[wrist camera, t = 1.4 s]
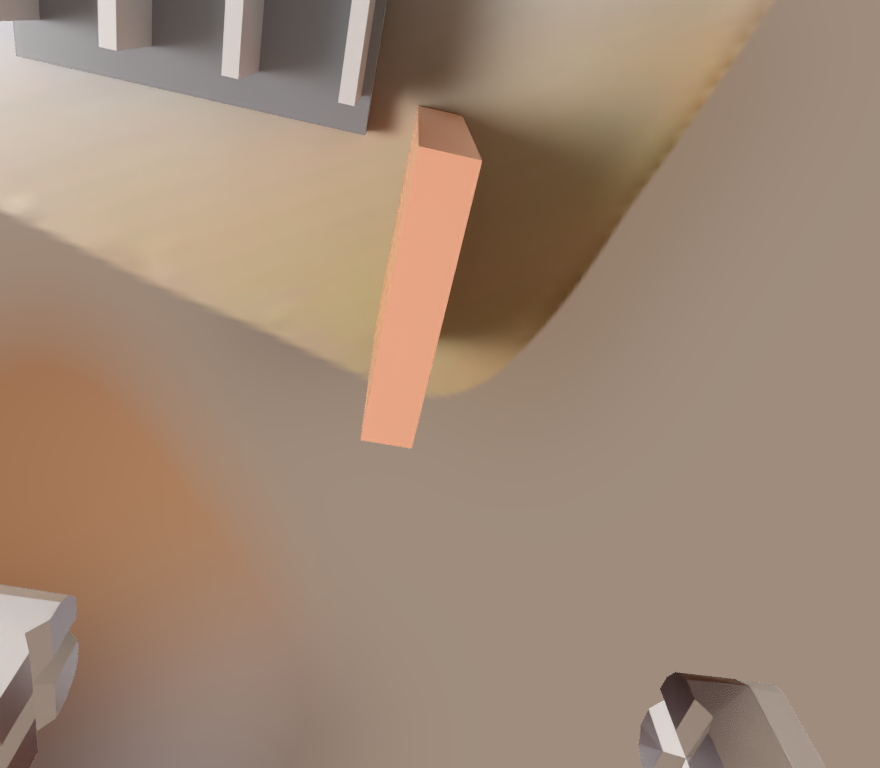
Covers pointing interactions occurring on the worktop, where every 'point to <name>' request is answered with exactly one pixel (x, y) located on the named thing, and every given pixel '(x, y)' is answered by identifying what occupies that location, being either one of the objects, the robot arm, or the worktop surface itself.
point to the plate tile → (419, 273)
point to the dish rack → (219, 49)
